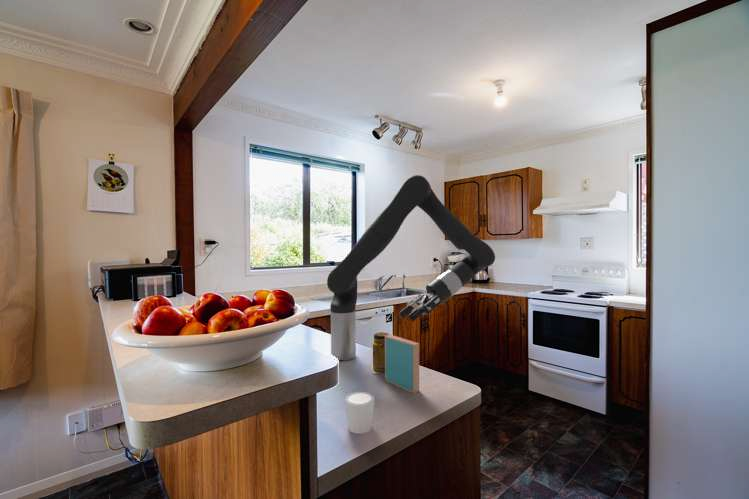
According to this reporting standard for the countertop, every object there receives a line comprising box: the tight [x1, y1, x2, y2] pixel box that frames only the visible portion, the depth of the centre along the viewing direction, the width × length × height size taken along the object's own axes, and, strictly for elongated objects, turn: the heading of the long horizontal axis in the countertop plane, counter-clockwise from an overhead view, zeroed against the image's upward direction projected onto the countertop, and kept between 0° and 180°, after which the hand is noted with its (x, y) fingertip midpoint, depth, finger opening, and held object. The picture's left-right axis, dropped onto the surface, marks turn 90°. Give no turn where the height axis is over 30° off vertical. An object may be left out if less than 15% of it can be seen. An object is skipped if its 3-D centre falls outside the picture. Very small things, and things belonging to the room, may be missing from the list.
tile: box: [384, 334, 420, 394], centre depth 102 cm, size 2×12×14 cm, turn 42°
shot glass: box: [344, 391, 375, 435], centre depth 80 cm, size 7×7×7 cm
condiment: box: [370, 332, 390, 375], centre depth 114 cm, size 7×8×12 cm
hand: (405, 317), depth 105 cm, fingers open, 8 cm apart
